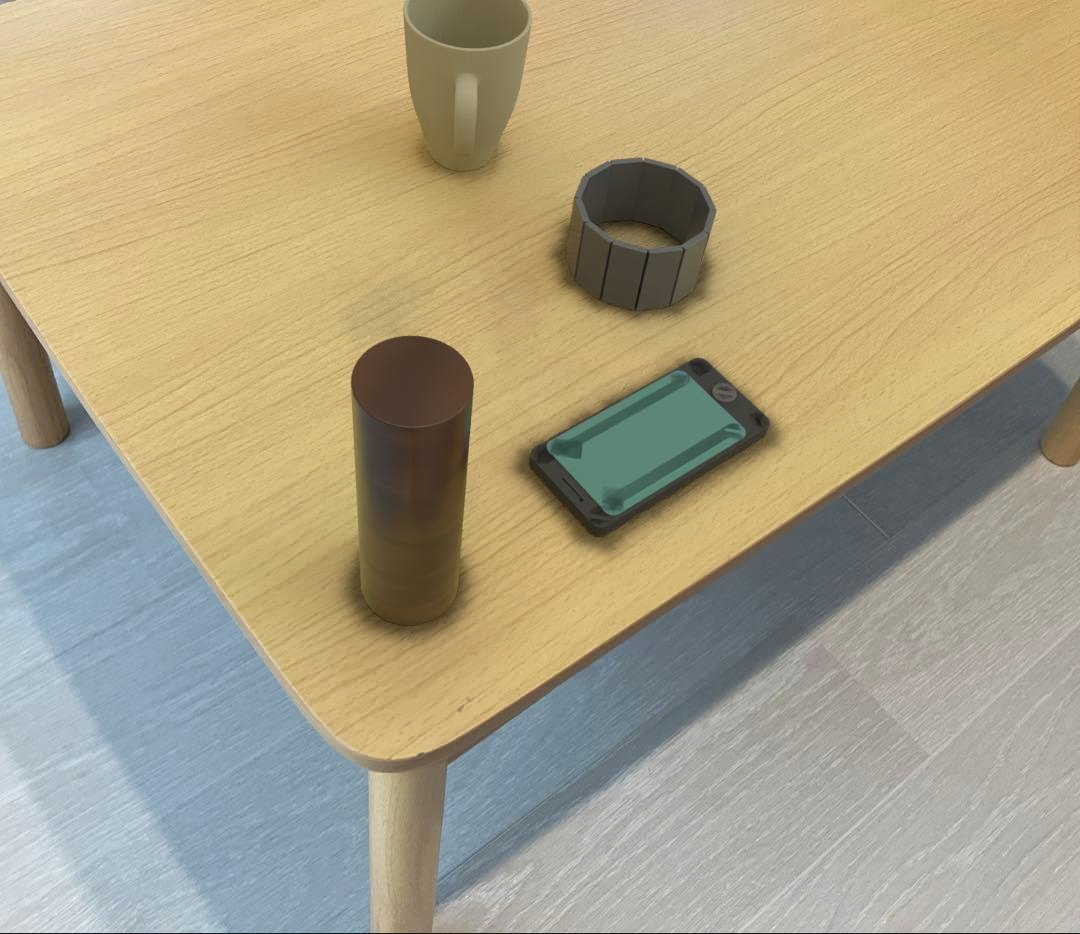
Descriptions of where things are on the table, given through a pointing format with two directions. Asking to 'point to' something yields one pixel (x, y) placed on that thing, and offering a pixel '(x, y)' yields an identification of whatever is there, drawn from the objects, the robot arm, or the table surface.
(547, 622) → the table surface
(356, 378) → the brown metal stand
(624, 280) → the grey ring
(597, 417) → the smartphone
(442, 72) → the mug
